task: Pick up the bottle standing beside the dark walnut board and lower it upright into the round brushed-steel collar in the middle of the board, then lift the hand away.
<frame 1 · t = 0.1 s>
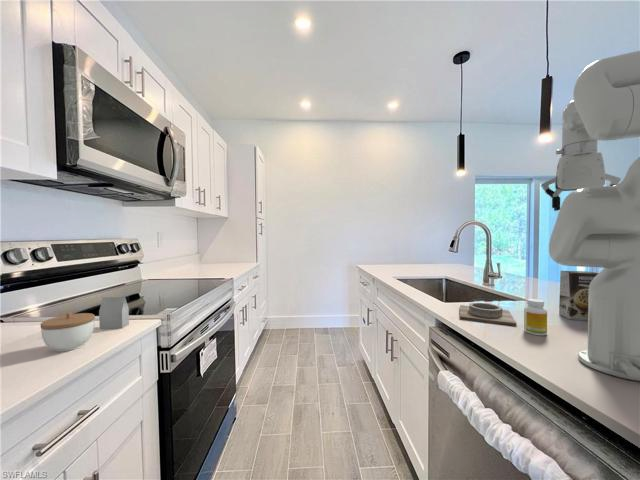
hand: (578, 209, 80), 37 cm above the countertop, tool pointing down, fingers open, 9 cm apart
grey gabled block: (114, 327, 89), on the countertop
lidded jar: (69, 347, 73), on the countertop
supplement bottle: (535, 333, 81), on the countertop
cookie box: (579, 318, 94), on the countertop
mount board: (485, 315, 97), on the countertop
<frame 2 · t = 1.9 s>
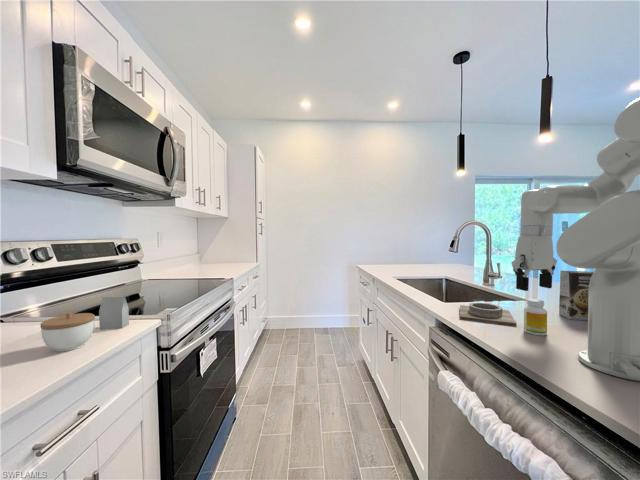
hand: (533, 288, 81), 13 cm above the countertop, tool pointing down, fingers open, 9 cm apart
nothing on the countertop moved.
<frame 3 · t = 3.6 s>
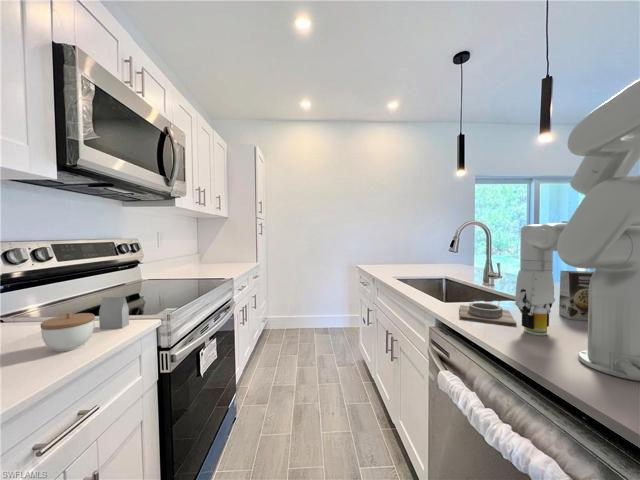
hand: (535, 325, 81), 2 cm above the countertop, tool pointing down, fingers closed on supplement bottle, 5 cm apart
supplement bottle: (535, 333, 81), on the countertop, touching gripper
everything else where it was.
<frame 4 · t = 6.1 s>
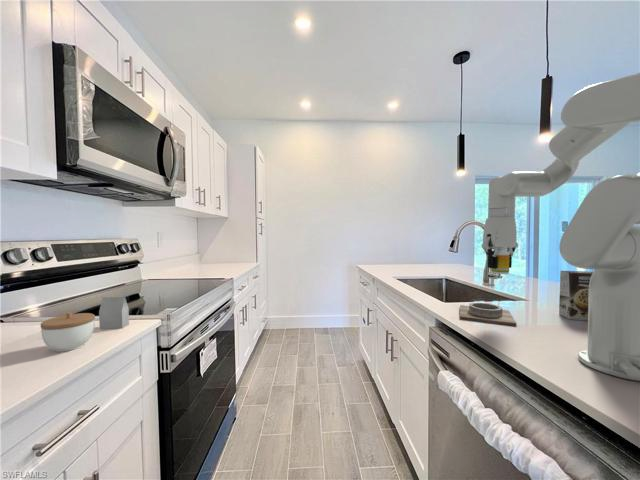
hand: (499, 267, 92), 18 cm above the countertop, tool pointing down, fingers closed on supplement bottle, 5 cm apart
supplement bottle: (499, 273, 92), point 16 cm above the countertop, touching gripper
everything else where it was.
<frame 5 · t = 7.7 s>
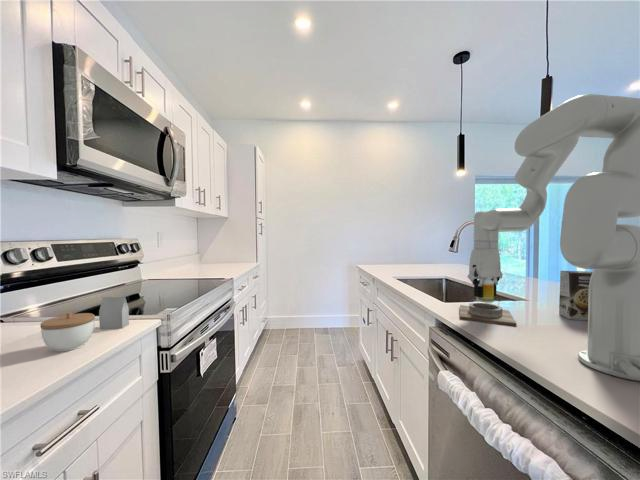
hand: (485, 295, 97), 7 cm above the countertop, tool pointing down, fingers closed on supplement bottle, 5 cm apart
supplement bottle: (484, 301, 97), point 5 cm above the countertop, touching gripper
everything else where it was.
when the fingers open (4 cm above the countertop, at t = 8.8 s): supplement bottle stays where it is, resting on mount board.
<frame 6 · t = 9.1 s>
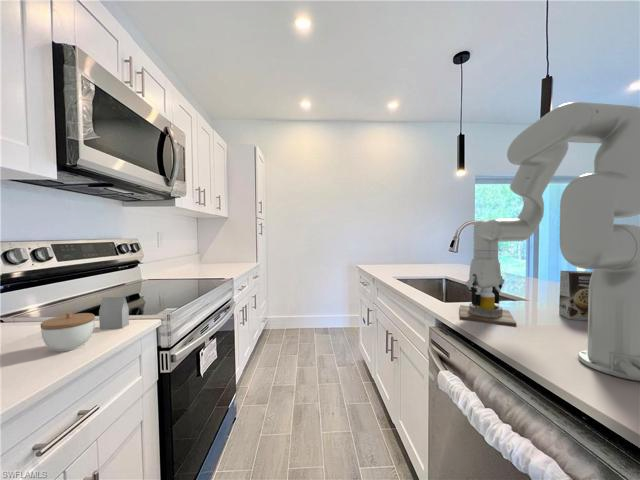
hand: (485, 303, 97), 4 cm above the countertop, tool pointing down, fingers open, 8 cm apart
supplement bottle: (485, 313, 97), point 1 cm above the countertop, touching mount board
everything else where it was.
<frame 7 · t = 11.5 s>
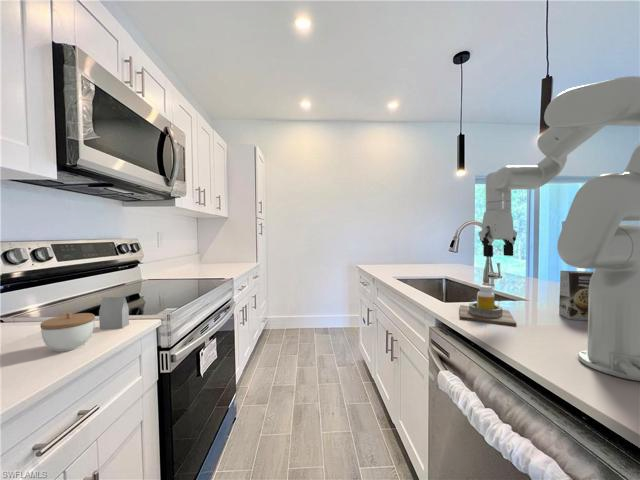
hand: (498, 256, 95), 22 cm above the countertop, tool pointing down, fingers open, 9 cm apart
nothing on the countertop moved.
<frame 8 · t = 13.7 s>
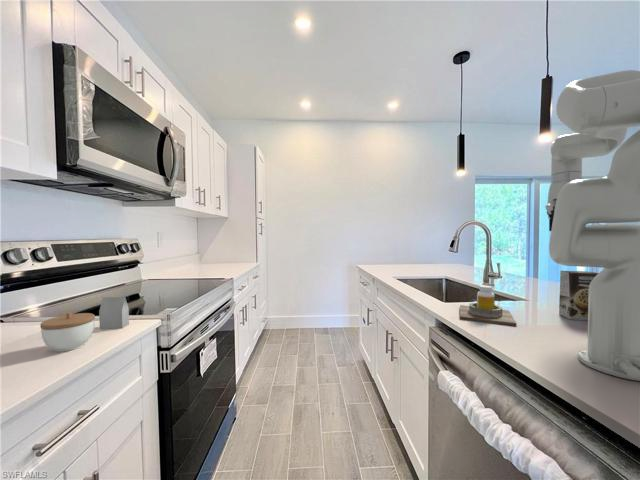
hand: (565, 231, 90), 30 cm above the countertop, tool pointing down, fingers open, 9 cm apart
nothing on the countertop moved.
at the end: supplement bottle 0.1 cm off-centre on the mount board, point 0.8 cm above the mount board's base; supplement bottle tilted 0°; the gripper is holding nothing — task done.
